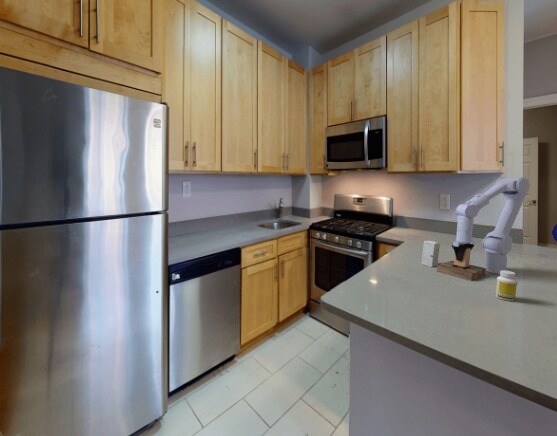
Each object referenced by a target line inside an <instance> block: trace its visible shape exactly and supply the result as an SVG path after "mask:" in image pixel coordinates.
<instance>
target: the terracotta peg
mask: <svg viewBox="0 0 557 436" xmlns="http://www.w3.org/2000/svg"><path fill="white" fill-rule="evenodd" d="M471 251H472V250H471V248H467V249H466V251H465V253H464V257H463V260H462V261H458V260H456V256H455V255H454V258H453V261H454V265H458V266H462V267H466V266H469V264H470V260H471Z"/></svg>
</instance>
